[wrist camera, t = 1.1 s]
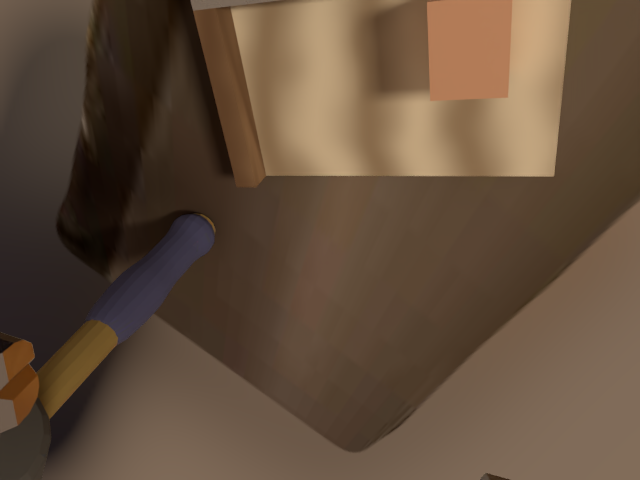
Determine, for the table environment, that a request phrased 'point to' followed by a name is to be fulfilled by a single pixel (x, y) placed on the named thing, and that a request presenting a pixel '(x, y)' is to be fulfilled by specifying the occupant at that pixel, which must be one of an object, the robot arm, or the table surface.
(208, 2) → the steel straightedge
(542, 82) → the birch board
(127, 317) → the rubber mallet
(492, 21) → the block
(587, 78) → the table surface
